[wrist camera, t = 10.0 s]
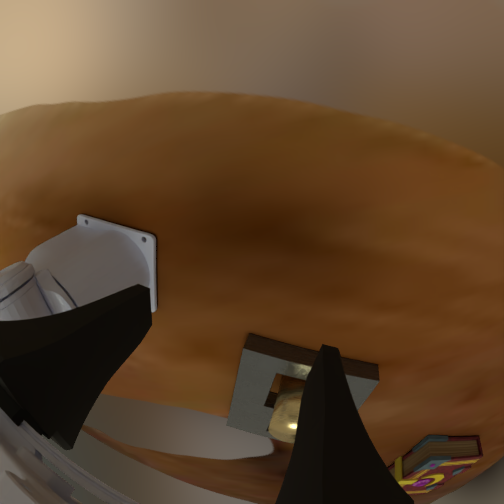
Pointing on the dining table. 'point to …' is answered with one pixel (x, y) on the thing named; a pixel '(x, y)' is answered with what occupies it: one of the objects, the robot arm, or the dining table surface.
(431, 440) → the decorative book
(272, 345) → the grey plate with cutouts
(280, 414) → the brass fitting
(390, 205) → the dining table surface
